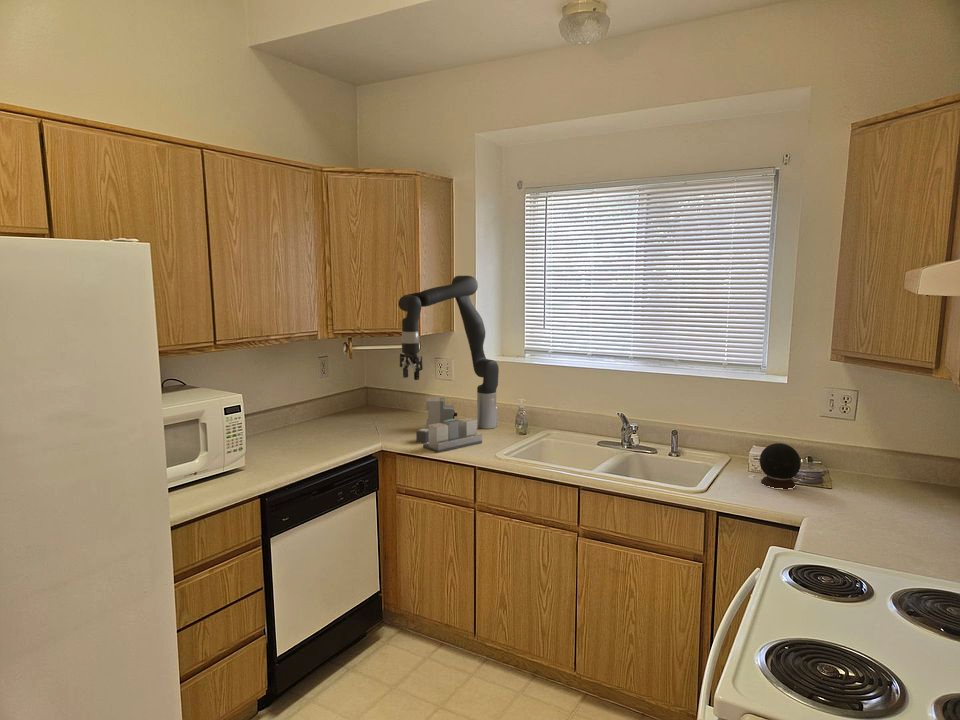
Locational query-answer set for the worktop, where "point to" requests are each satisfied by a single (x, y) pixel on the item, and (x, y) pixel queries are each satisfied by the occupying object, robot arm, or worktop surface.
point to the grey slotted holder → (464, 439)
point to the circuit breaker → (438, 411)
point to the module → (452, 428)
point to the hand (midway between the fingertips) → (411, 378)
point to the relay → (422, 435)
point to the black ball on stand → (779, 465)
